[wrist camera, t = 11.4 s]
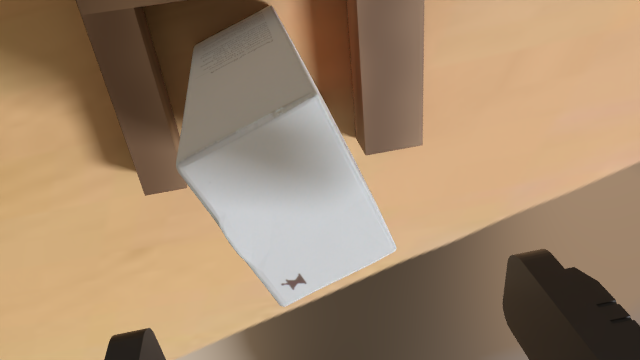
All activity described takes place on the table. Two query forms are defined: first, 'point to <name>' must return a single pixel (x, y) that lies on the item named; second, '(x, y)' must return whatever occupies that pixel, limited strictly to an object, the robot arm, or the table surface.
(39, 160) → the table surface
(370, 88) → the wooden u-shaped block
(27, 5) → the table surface
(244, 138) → the skincare box
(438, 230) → the table surface
